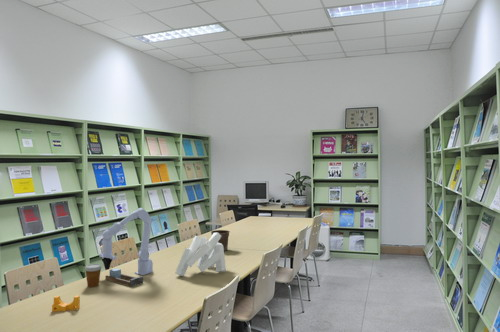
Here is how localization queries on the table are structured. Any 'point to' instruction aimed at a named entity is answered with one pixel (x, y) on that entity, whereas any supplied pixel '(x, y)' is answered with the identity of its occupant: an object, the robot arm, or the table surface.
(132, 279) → the guide rail
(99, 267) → the disposable coffee cup
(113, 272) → the block
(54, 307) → the pipe clamp
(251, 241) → the table surface
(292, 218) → the table surface
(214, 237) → the pile of blocks
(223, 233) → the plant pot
